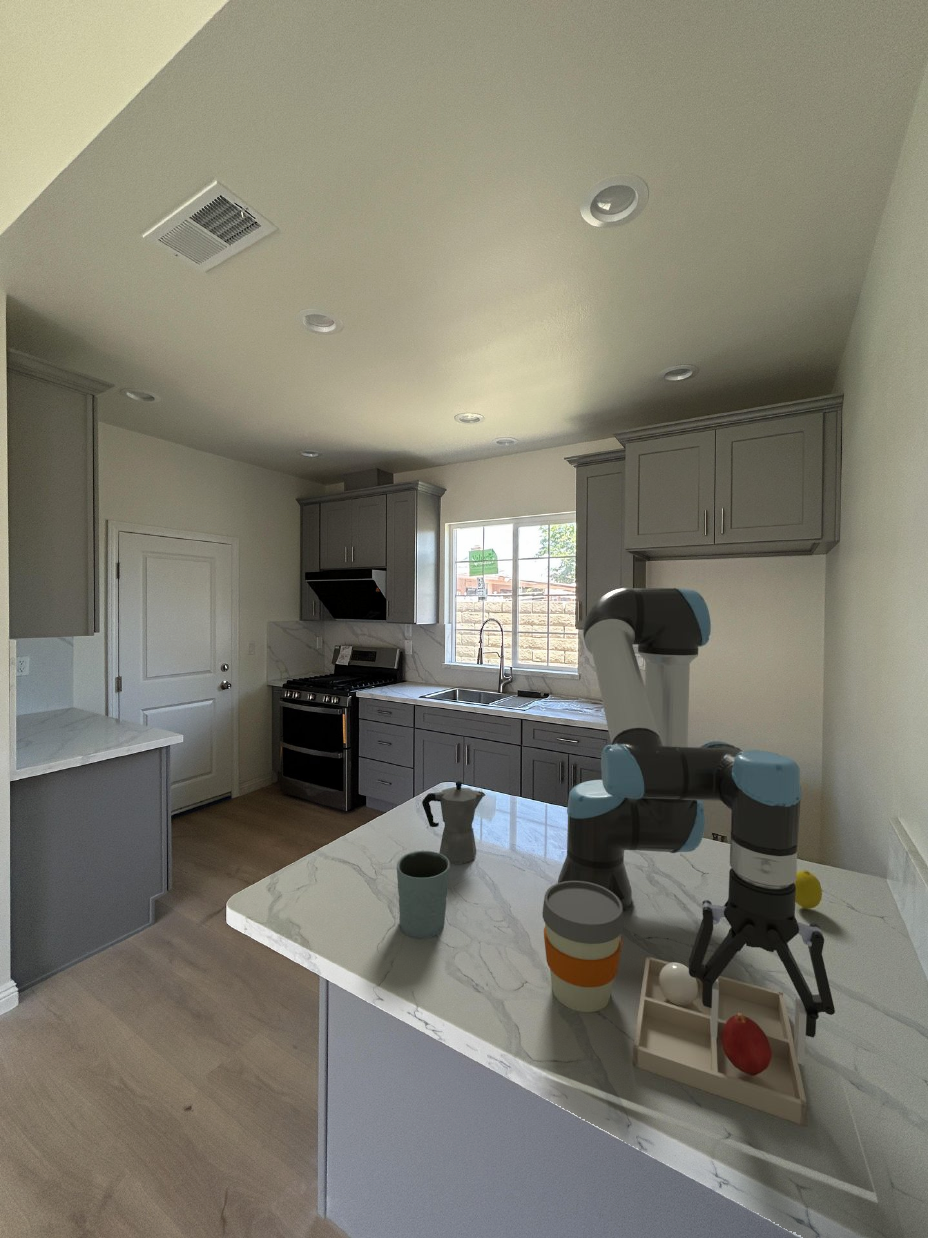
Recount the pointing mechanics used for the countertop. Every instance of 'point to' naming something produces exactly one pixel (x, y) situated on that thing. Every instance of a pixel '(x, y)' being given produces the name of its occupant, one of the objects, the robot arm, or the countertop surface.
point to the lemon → (807, 890)
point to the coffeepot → (456, 821)
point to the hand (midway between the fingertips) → (755, 1042)
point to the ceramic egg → (678, 984)
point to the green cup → (422, 892)
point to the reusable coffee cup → (582, 942)
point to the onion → (746, 1045)
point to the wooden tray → (719, 1044)
